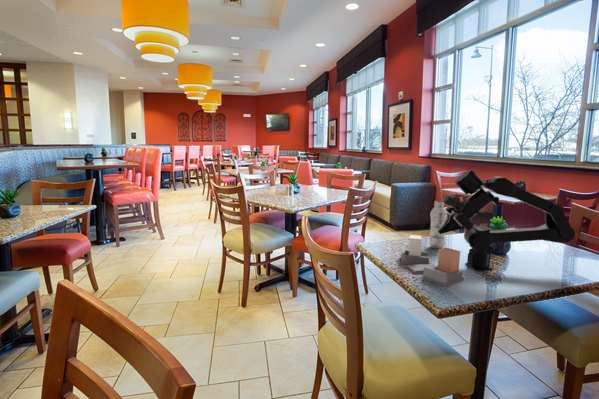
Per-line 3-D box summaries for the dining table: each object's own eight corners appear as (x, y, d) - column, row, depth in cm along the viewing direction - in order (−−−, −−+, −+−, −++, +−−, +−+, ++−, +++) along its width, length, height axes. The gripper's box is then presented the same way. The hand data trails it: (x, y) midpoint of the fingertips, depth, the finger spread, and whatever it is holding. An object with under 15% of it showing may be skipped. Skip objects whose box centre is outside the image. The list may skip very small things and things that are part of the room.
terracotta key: (444, 270, 115) (445, 247, 113) (458, 275, 111) (460, 251, 109) (436, 273, 112) (438, 249, 111) (451, 277, 108) (452, 253, 107)
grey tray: (423, 255, 135) (424, 246, 134) (473, 285, 106) (474, 272, 105) (391, 257, 133) (392, 247, 132) (433, 287, 104) (434, 275, 103)
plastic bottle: (434, 251, 141) (438, 203, 138) (424, 246, 148) (427, 200, 145) (448, 249, 143) (451, 202, 140) (437, 245, 149) (440, 200, 147)
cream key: (419, 256, 130) (420, 235, 129) (420, 260, 125) (421, 239, 124) (408, 255, 131) (409, 235, 130) (408, 259, 126) (410, 238, 125)
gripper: (453, 184, 129) (420, 211, 133) (465, 190, 111) (427, 221, 115) (473, 206, 128) (440, 233, 132) (489, 215, 110) (450, 246, 114)
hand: (439, 232), depth 124 cm, fingers closed
